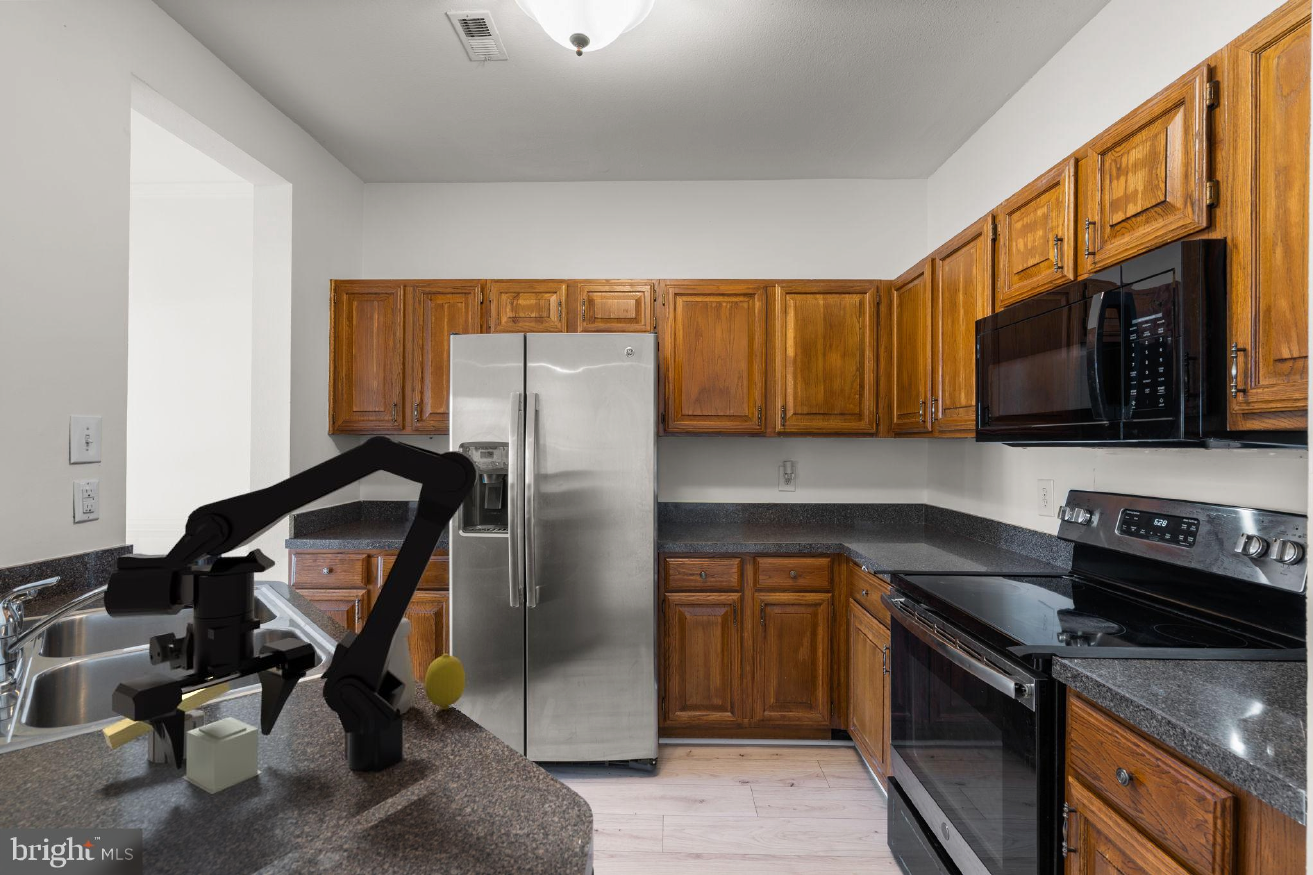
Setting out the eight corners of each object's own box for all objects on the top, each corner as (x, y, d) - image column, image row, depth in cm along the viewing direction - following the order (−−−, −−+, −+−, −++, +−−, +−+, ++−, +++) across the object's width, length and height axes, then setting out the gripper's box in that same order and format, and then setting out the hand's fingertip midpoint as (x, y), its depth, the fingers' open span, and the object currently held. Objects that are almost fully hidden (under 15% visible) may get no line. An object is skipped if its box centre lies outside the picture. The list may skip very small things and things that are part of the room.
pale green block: (257, 772, 73) (258, 726, 73) (214, 791, 69) (214, 742, 69) (229, 759, 76) (230, 714, 76) (186, 776, 72) (186, 729, 72)
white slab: (283, 772, 75) (283, 729, 75) (186, 815, 67) (186, 766, 67) (207, 737, 84) (207, 698, 84) (113, 771, 75) (113, 728, 75)
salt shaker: (400, 720, 89) (401, 626, 89) (363, 716, 91) (364, 623, 91) (423, 703, 95) (424, 615, 95) (388, 700, 96) (389, 613, 96)
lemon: (426, 720, 90) (426, 662, 90) (423, 704, 95) (424, 650, 95) (467, 713, 92) (467, 657, 92) (462, 699, 97) (463, 645, 97)
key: (231, 716, 84) (219, 673, 82) (238, 721, 83) (226, 678, 81) (117, 776, 74) (102, 729, 73) (124, 783, 73) (108, 736, 72)
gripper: (268, 587, 85) (268, 706, 85) (89, 621, 69) (88, 768, 69) (319, 598, 79) (319, 725, 79) (137, 638, 63) (136, 798, 63)
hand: (223, 750), depth 73 cm, fingers open, 9 cm apart
